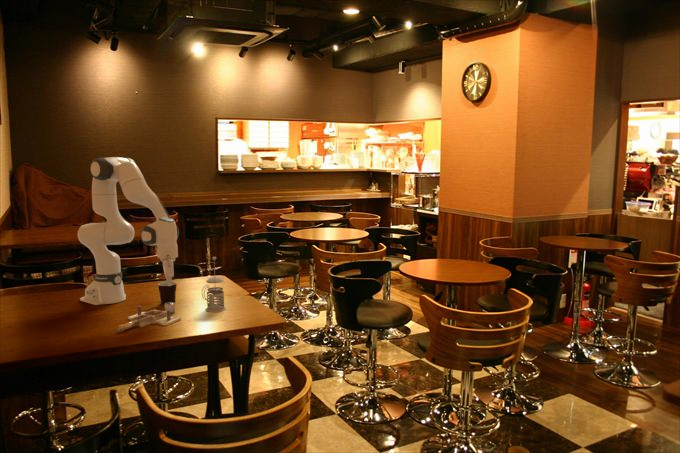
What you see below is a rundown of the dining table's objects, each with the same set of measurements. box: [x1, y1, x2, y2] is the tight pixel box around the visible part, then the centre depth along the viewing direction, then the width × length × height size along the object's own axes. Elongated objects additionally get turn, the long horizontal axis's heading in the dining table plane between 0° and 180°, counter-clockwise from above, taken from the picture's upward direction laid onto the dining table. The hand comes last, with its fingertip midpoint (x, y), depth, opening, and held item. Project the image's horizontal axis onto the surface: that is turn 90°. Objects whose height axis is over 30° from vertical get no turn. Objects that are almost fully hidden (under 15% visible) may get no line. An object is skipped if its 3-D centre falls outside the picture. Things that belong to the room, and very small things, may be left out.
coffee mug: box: [157, 281, 178, 307], centre depth 271 cm, size 12×9×10 cm
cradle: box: [127, 305, 182, 328], centre depth 241 cm, size 22×15×5 cm
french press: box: [201, 256, 227, 313], centre depth 258 cm, size 10×12×25 cm
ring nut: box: [164, 302, 176, 315], centre depth 254 cm, size 4×4×5 cm
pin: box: [117, 320, 139, 333], centre depth 231 cm, size 9×3×3 cm, turn 154°
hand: (169, 283), depth 252 cm, fingers open, 8 cm apart
